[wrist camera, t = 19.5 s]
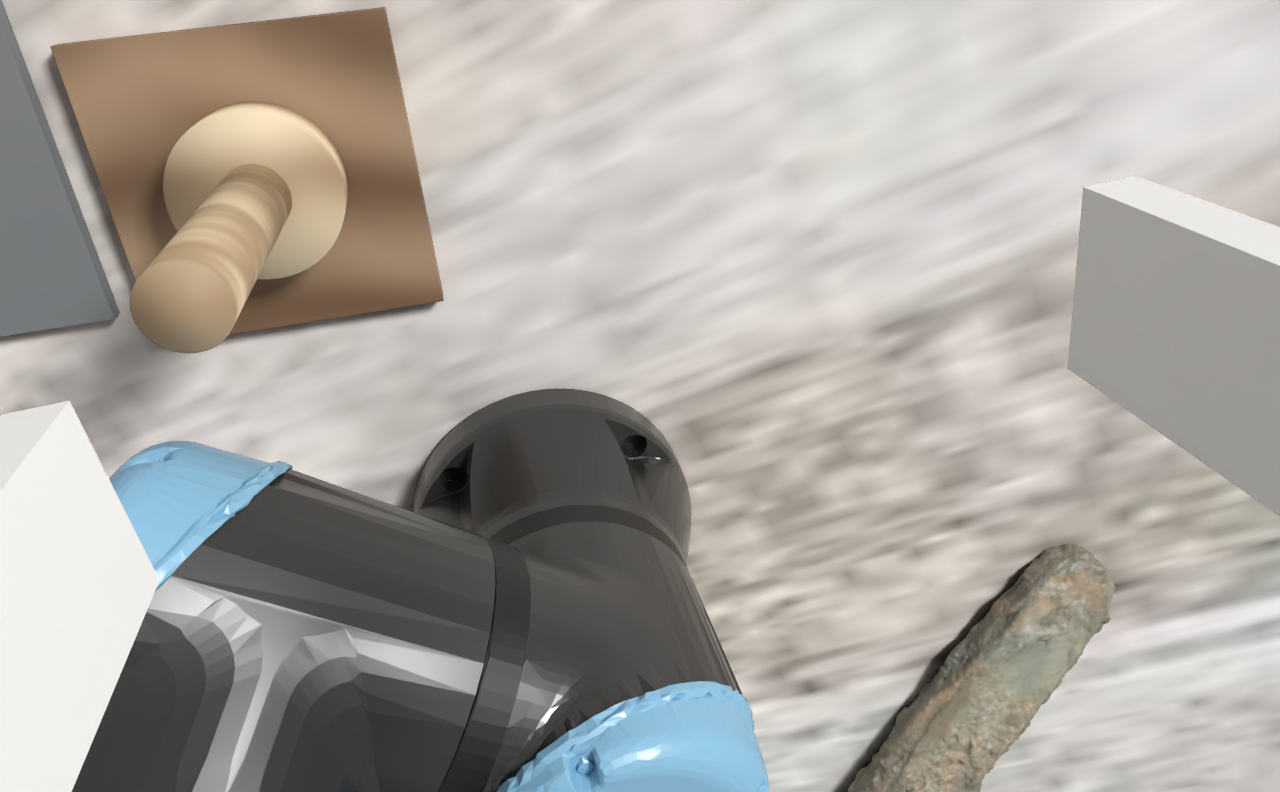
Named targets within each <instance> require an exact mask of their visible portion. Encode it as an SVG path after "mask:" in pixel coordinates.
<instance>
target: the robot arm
mask: <svg viewBox="0 0 1280 792" xmlns="http://www.w3.org/2000/svg"><path fill="white" fill-rule="evenodd" d="M1068 369H1069V370H1071V371H1072V372H1073V373H1075V374H1076V375H1078V376H1079V377H1081V378H1082V379H1084V380H1085V381H1086V382H1088V383H1089V384H1091V385H1092V386H1094V387H1095V388H1096V389H1098V390H1099V391H1101V392H1102V393H1104V394H1105V395H1107V396H1108V397H1109V398H1111V399H1112V400H1114V401H1115V402H1117V403H1118V404H1119V405H1121V406H1122V407H1124V408H1125V409H1127V410H1128V411H1129V412H1131V413H1132V414H1134V415H1135V416H1137V417H1138V418H1140V419H1141V420H1142V421H1144V422H1145V423H1147V424H1148V425H1150V426H1151V427H1152V428H1154V429H1155V430H1157V431H1158V432H1160V433H1161V434H1163V435H1164V436H1165V437H1167V438H1168V439H1170V440H1171V441H1173V442H1174V443H1175V444H1177V445H1178V446H1180V447H1181V448H1183V449H1184V450H1186V451H1187V452H1188V453H1190V454H1191V455H1193V456H1194V457H1196V458H1197V459H1198V460H1200V461H1201V462H1203V463H1204V464H1206V465H1207V466H1208V467H1210V468H1211V469H1213V470H1214V471H1216V472H1217V473H1219V474H1220V475H1221V476H1223V477H1224V478H1226V479H1227V480H1229V481H1230V482H1231V483H1233V484H1234V485H1236V486H1237V487H1239V488H1240V489H1242V490H1243V491H1244V492H1246V493H1247V494H1249V495H1250V496H1252V497H1253V498H1254V499H1256V500H1257V501H1259V502H1260V503H1262V504H1263V505H1265V506H1266V507H1267V508H1269V509H1270V510H1272V511H1273V512H1275V513H1276V514H1277V515H1279V516H1280V227H1278V226H1275V225H1272V224H1269V223H1266V222H1263V221H1261V220H1258V219H1255V218H1252V217H1249V216H1247V215H1244V214H1241V213H1238V212H1235V211H1233V210H1230V209H1227V208H1224V207H1221V206H1218V205H1216V204H1213V203H1210V202H1207V201H1204V200H1202V199H1199V198H1196V197H1193V196H1190V195H1188V194H1185V193H1182V192H1179V191H1176V190H1173V189H1171V188H1168V187H1165V186H1162V185H1159V184H1157V183H1154V182H1151V181H1148V180H1145V179H1143V178H1140V177H1137V176H1133V177H1128V178H1124V179H1119V180H1114V181H1109V182H1105V183H1100V184H1095V185H1090V186H1086V187H1083V197H1082V209H1081V220H1080V231H1079V243H1078V254H1077V266H1076V277H1075V289H1074V300H1073V312H1072V323H1071V335H1070V346H1069V358H1068ZM292 468H293V467H292V465H289V464H287V463H285V462H280V461H277V462H274V463H268V462H264V461H260V460H257V459H253V458H249V457H246V456H242V455H238V454H234V453H231V452H227V451H223V450H220V449H216V448H213V447H210V446H206V445H203V444H200V443H196V442H190V441H169V442H164V443H160V444H156V445H153V446H151V447H148V448H146V449H144V450H142V451H141V452H139V453H138V454H136V455H134V456H133V457H131V458H130V459H129V460H127V461H126V462H125V463H124V464H123V465H122V466H121V467H120V468H119V469H118V470H117V471H116V472H115V473H114V474H113V475H112V476H111V477H110V478H108V476H107V474H106V472H105V470H104V468H103V466H102V464H101V462H100V460H99V458H98V456H97V454H96V452H95V450H94V448H93V446H92V444H91V442H90V440H89V438H88V436H87V434H86V432H85V430H84V428H83V426H82V424H81V422H80V420H79V418H78V416H77V414H76V412H75V410H74V408H73V406H72V404H71V402H70V400H69V401H65V402H60V403H55V404H50V405H46V406H41V407H36V408H31V409H27V410H22V411H17V412H12V413H8V414H3V415H1V417H0V792H769V785H768V775H767V771H766V767H765V764H764V761H763V758H762V755H761V752H760V749H759V746H758V743H757V740H756V737H755V734H754V721H753V718H752V710H751V708H750V706H749V704H748V702H747V700H746V699H745V697H744V696H743V695H742V692H741V690H740V688H739V686H738V683H737V681H736V679H735V676H734V674H733V672H732V670H731V667H730V665H729V663H728V660H727V658H726V656H725V654H724V651H723V649H722V647H721V644H720V642H719V640H718V638H717V635H716V633H715V631H714V628H713V626H712V624H711V622H710V619H709V617H708V615H707V612H706V610H705V608H704V605H703V603H702V601H701V599H700V596H699V594H698V592H697V589H696V587H695V585H694V583H693V580H692V578H691V576H690V574H689V572H688V569H687V558H688V548H689V538H690V528H691V503H690V496H689V491H688V486H687V483H686V480H685V477H684V474H683V472H682V469H681V467H680V465H679V463H678V461H677V459H676V457H675V455H674V453H673V451H672V449H671V447H670V445H669V443H668V442H667V440H666V439H665V437H664V436H663V435H662V434H661V432H660V431H659V430H658V429H657V428H656V427H655V426H654V425H653V424H652V423H651V422H650V421H649V420H648V419H647V418H646V417H644V416H643V415H642V414H640V413H639V412H637V411H636V410H634V409H633V408H631V407H629V406H628V405H626V404H624V403H622V402H620V401H617V400H615V399H613V398H610V397H607V396H604V395H601V394H597V393H593V392H588V391H582V390H575V389H545V390H537V391H530V392H526V393H521V394H517V395H514V396H510V397H508V398H505V399H502V400H499V401H497V402H495V403H492V404H490V405H488V406H486V407H484V408H482V409H480V410H479V411H477V412H475V413H474V414H472V415H471V416H469V417H468V418H466V419H465V420H464V421H462V422H461V423H460V424H459V425H457V426H456V427H455V428H454V429H453V430H452V431H451V432H450V433H448V434H447V436H446V437H445V438H444V439H443V440H442V441H441V442H440V443H439V445H438V446H437V447H436V448H435V450H434V451H433V453H432V454H431V456H430V457H429V459H428V461H427V462H426V464H425V466H424V468H423V470H422V473H421V475H420V477H419V480H418V483H417V487H416V490H415V495H414V501H413V512H412V511H409V510H406V509H403V508H400V507H397V506H394V505H391V504H388V503H385V502H382V501H379V500H376V499H373V498H370V497H367V496H364V495H361V494H358V493H356V492H353V491H350V490H347V489H344V488H342V487H339V486H336V485H333V484H330V483H328V482H325V481H322V480H319V479H316V478H314V477H311V476H308V475H305V474H302V473H300V472H297V471H294V470H292Z"/></svg>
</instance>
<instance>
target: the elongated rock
mask: <svg viewBox="0 0 1280 792" xmlns="http://www.w3.org/2000/svg"><path fill="white" fill-rule="evenodd" d="M1113 591H1115V587H1114V584H1113V581H1112V580H1111V579H1110V578H1109V576H1108V573H1107V572H1106V569H1105V568H1104V567H1102V564H1101V563H1100V562H1099V561H1098V560H1096V559H1095V558H1094V556H1093V554H1092V553H1091V552H1089V551H1087V550H1086V549H1083V548H1081V547H1078V546H1075V545H1072V544H1067V545H1063V546H1060V547H1053V548H1050V549H1047V550H1044V551H1043V552H1042V553H1041V554H1040V556H1039V557H1038V558H1037V559H1033V560H1032V562H1031V564H1030V566H1029V567H1027V568H1026V569H1025V571H1024V573H1023V574H1022V575H1020V577H1019V578H1018V580H1017V581H1016V583H1015V584H1014V585H1013V586H1012V587H1011V588H1010V589H1008V590H1007V591H1006V592H1004V593H1003V594H1002V595H1001V597H999V598H998V600H996V601H995V602H994V603H993V605H992V607H991V609H990V611H989V612H988V613H987V615H986V616H985V617H984V618H983V619H982V620H980V621H979V622H978V623H977V624H976V625H975V626H973V628H972V629H971V630H970V631H969V633H968V634H967V636H966V637H965V638H964V639H963V640H962V641H961V642H960V643H959V644H957V645H956V646H955V647H954V648H953V649H952V650H951V651H950V653H949V655H948V656H947V658H946V660H945V661H944V664H943V665H942V666H940V670H939V671H938V672H937V673H936V674H935V675H934V676H933V678H932V680H931V681H930V682H929V683H925V684H924V686H923V688H922V689H921V690H920V692H919V695H918V697H917V698H916V699H914V700H913V701H912V703H911V704H910V705H909V706H908V708H907V707H904V708H903V709H902V711H900V712H899V714H898V715H897V718H896V723H895V725H894V727H893V729H892V731H891V732H890V735H889V736H888V739H887V740H885V741H884V742H883V744H882V746H881V747H880V750H879V752H878V753H876V754H874V755H873V756H872V762H871V763H869V764H868V766H867V767H863V768H861V769H860V770H859V771H858V773H857V774H856V779H855V780H854V781H853V782H852V784H851V785H850V786H849V788H848V791H847V792H980V788H981V785H982V784H981V782H982V780H983V778H984V775H985V774H986V773H989V772H990V770H991V769H993V767H994V765H995V763H996V761H997V760H998V759H999V757H1000V756H1001V755H1003V754H1004V753H1006V752H1007V751H1008V750H1009V747H1010V746H1011V745H1012V744H1013V743H1014V742H1015V740H1017V739H1018V738H1019V736H1020V735H1021V734H1022V733H1023V732H1024V731H1025V730H1026V728H1027V727H1028V726H1029V725H1030V721H1031V719H1032V718H1033V717H1034V715H1035V714H1036V712H1037V711H1038V709H1039V708H1040V706H1041V705H1042V704H1044V703H1046V702H1047V701H1048V700H1049V698H1050V695H1051V694H1052V692H1053V691H1054V690H1055V689H1056V688H1057V687H1058V686H1059V684H1060V683H1061V682H1062V678H1063V677H1064V676H1065V674H1066V672H1067V671H1069V670H1070V669H1071V668H1072V667H1073V666H1074V665H1075V664H1076V663H1077V660H1078V658H1079V657H1080V656H1081V655H1082V653H1083V650H1084V648H1085V646H1086V644H1087V643H1088V642H1089V640H1090V639H1091V637H1093V635H1094V634H1095V633H1098V632H1099V631H1100V630H1101V629H1102V626H1103V624H1105V623H1108V622H1109V620H1111V618H1110V616H1109V614H1108V611H1109V608H1110V605H1111V599H1112V596H1113Z"/></svg>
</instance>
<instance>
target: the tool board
mask: <svg viewBox="0 0 1280 792" xmlns="http://www.w3.org/2000/svg"><path fill="white" fill-rule="evenodd" d="M51 50H52V53H53V55H54V58H55V61H56V64H57V66H58V69H59V72H60V75H61V77H62V80H63V83H64V86H65V88H66V91H67V94H68V97H69V99H70V102H71V105H72V108H73V110H74V113H75V116H76V119H77V121H78V124H79V127H80V130H81V132H82V135H83V138H84V141H85V143H86V146H87V149H88V152H89V154H90V157H91V160H92V163H93V165H94V168H95V171H96V174H97V176H98V179H99V182H100V185H101V187H102V190H103V193H104V196H105V198H106V201H107V204H108V207H109V209H110V212H111V215H112V218H113V220H114V223H115V226H116V229H117V231H118V234H119V237H120V239H121V242H122V245H123V248H124V250H125V253H126V256H127V259H128V261H129V264H130V267H131V270H132V272H133V275H134V278H135V281H137V279H138V278H139V277H140V276H141V274H142V273H143V272H144V271H145V270H146V269H147V267H148V266H149V265H150V264H151V263H152V261H153V260H154V259H155V258H156V257H157V256H158V254H159V253H160V252H161V251H162V250H163V249H164V247H165V246H166V245H167V244H168V243H169V242H170V240H171V239H172V238H173V237H174V236H175V235H176V233H177V230H176V228H175V226H174V225H173V223H172V221H171V218H170V216H169V214H168V211H167V207H166V204H165V200H164V192H163V177H164V171H165V166H166V163H167V160H168V157H169V155H170V153H171V151H172V149H173V147H174V146H175V144H176V143H177V141H178V140H179V139H180V137H181V136H182V135H183V134H184V133H186V132H187V131H188V130H189V129H190V128H191V127H192V126H194V125H195V124H196V123H197V122H199V121H200V120H201V119H202V118H204V117H205V116H207V115H208V114H209V113H211V112H213V111H215V110H217V109H219V108H221V107H223V106H226V105H229V104H233V103H238V102H246V101H260V102H269V103H274V104H278V105H281V106H284V107H287V108H290V109H292V110H294V111H296V112H298V113H300V114H302V115H303V116H305V117H307V118H308V119H310V120H311V121H312V122H314V123H315V124H316V125H317V126H319V127H320V128H321V129H322V130H323V131H324V132H325V133H326V134H327V136H328V137H329V138H330V139H331V141H332V142H333V143H334V145H335V146H336V148H337V150H338V151H339V153H340V155H341V157H342V160H343V162H344V165H345V168H346V171H347V175H348V181H349V201H348V206H347V210H346V214H345V218H344V221H343V224H342V228H341V230H340V233H339V235H338V238H337V239H336V241H335V243H334V244H333V246H332V248H331V249H330V250H329V251H328V252H327V254H326V255H325V256H324V257H323V258H322V259H320V260H319V261H318V262H317V263H315V264H314V265H313V266H311V267H310V268H308V269H306V270H304V271H302V272H300V273H297V274H294V275H291V276H288V277H283V278H278V279H257V280H256V282H255V284H254V286H253V288H252V290H251V292H250V294H249V296H248V298H247V300H246V302H245V304H244V306H243V308H242V310H241V312H240V314H239V316H238V318H237V320H236V322H235V324H234V326H233V328H232V330H231V332H230V334H236V333H243V332H249V331H255V330H262V329H268V328H275V327H281V326H287V325H294V324H300V323H306V322H313V321H319V320H325V319H332V318H338V317H344V316H351V315H357V314H363V313H370V312H376V311H382V310H389V309H395V308H402V307H408V306H414V305H421V304H427V303H433V302H440V301H443V291H442V286H441V281H440V276H439V271H438V266H437V261H436V256H435V251H434V246H433V241H432V237H431V232H430V227H429V222H428V217H427V212H426V207H425V202H424V197H423V192H422V187H421V182H420V177H419V172H418V167H417V162H416V157H415V152H414V148H413V143H412V138H411V133H410V128H409V123H408V118H407V113H406V108H405V103H404V98H403V93H402V88H401V83H400V78H399V73H398V68H397V63H396V59H395V54H394V49H393V44H392V39H391V34H390V29H389V24H388V19H387V14H386V9H385V7H383V8H374V9H365V10H356V11H347V12H338V13H329V14H321V15H312V16H303V17H294V18H285V19H276V20H267V21H258V22H250V23H241V24H232V25H223V26H214V27H205V28H196V29H187V30H179V31H170V32H161V33H152V34H143V35H134V36H125V37H117V38H108V39H99V40H90V41H81V42H72V43H63V44H57V45H54V46H51ZM230 334H229V335H230Z"/></svg>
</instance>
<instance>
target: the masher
mask: <svg viewBox="0 0 1280 792" xmlns="http://www.w3.org/2000/svg"><path fill="white" fill-rule="evenodd" d="M163 192H164V200H165V204H166V207H167V211H168V214H169V216H170V218H171V221H172V223H173V225H174V226H175V228H176V230H177V233H176V235H175V236H174V237H173V238H172V239H171V240H170V242H169V243H168V244H167V245H166V246H165V247H164V249H163V250H162V251H161V252H160V253H159V254H158V256H157V257H156V258H155V259H154V260H153V261H152V263H151V264H150V265H149V266H148V267H147V269H146V270H145V271H144V272H143V273H142V274H141V276H140V277H139V278H138V279H137V281H136V282H135V284H134V286H133V288H132V291H131V295H130V309H131V313H132V317H133V319H134V321H135V323H136V325H137V326H138V328H139V329H140V330H141V331H142V333H143V334H144V335H145V336H146V337H147V338H149V339H150V340H151V341H153V342H154V343H156V344H157V345H159V346H161V347H163V348H165V349H168V350H171V351H175V352H180V353H198V352H203V351H206V350H209V349H212V348H214V347H216V346H217V345H219V344H220V343H221V342H222V341H224V340H225V339H226V337H227V336H228V335H229V334H230V332H231V330H232V328H233V326H234V324H235V322H236V320H237V318H238V316H239V314H240V312H241V310H242V308H243V306H244V304H245V302H246V300H247V298H248V296H249V294H250V292H251V290H252V288H253V286H254V284H255V282H256V280H257V279H278V278H283V277H288V276H291V275H294V274H297V273H300V272H302V271H304V270H306V269H308V268H310V267H311V266H313V265H314V264H315V263H317V262H318V261H319V260H320V259H322V258H323V257H324V256H325V255H326V254H327V252H328V251H329V250H330V249H331V248H332V246H333V244H334V243H335V241H336V239H337V238H338V235H339V233H340V230H341V228H342V224H343V221H344V218H345V214H346V210H347V206H348V201H349V181H348V175H347V171H346V168H345V165H344V162H343V160H342V157H341V155H340V153H339V151H338V150H337V148H336V146H335V145H334V143H333V142H332V141H331V139H330V138H329V137H328V136H327V134H326V133H325V132H324V131H323V130H322V129H321V128H320V127H319V126H317V125H316V124H315V123H314V122H312V121H311V120H310V119H308V118H307V117H305V116H303V115H302V114H300V113H298V112H296V111H294V110H292V109H290V108H287V107H284V106H281V105H278V104H274V103H269V102H260V101H246V102H238V103H233V104H229V105H226V106H223V107H221V108H219V109H217V110H215V111H213V112H211V113H209V114H208V115H207V116H205V117H204V118H202V119H201V120H200V121H199V122H197V123H196V124H195V125H194V126H192V127H191V128H190V129H189V130H188V131H187V132H186V133H184V134H183V135H182V136H181V137H180V139H179V140H178V141H177V143H176V144H175V146H174V147H173V149H172V151H171V153H170V155H169V157H168V160H167V163H166V166H165V171H164V177H163Z"/></svg>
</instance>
